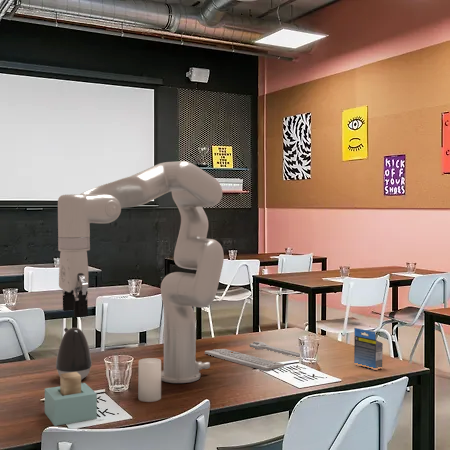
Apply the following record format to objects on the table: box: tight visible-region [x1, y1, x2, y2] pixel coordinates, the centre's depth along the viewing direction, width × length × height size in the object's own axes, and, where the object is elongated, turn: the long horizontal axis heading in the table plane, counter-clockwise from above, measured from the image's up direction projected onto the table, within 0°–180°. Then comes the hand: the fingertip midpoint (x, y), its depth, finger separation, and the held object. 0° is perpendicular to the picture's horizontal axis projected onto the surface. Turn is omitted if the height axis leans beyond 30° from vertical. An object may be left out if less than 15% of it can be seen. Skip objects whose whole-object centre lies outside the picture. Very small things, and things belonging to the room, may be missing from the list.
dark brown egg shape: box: [55, 327, 93, 381], centre depth 170 cm, size 10×10×15 cm
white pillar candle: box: [137, 357, 162, 403], centre depth 153 cm, size 6×6×10 cm
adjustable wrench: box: [249, 341, 300, 358], centre depth 205 cm, size 25×6×2 cm, turn 38°
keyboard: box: [204, 348, 287, 372], centre depth 194 cm, size 29×10×2 cm, turn 44°
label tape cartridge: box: [353, 327, 384, 368], centre depth 186 cm, size 9×4×12 cm, turn 37°
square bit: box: [59, 372, 82, 396], centre depth 139 cm, size 4×4×10 cm
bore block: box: [44, 382, 98, 427], centre depth 139 cm, size 10×10×6 cm
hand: (74, 313), depth 142 cm, fingers open, 9 cm apart
